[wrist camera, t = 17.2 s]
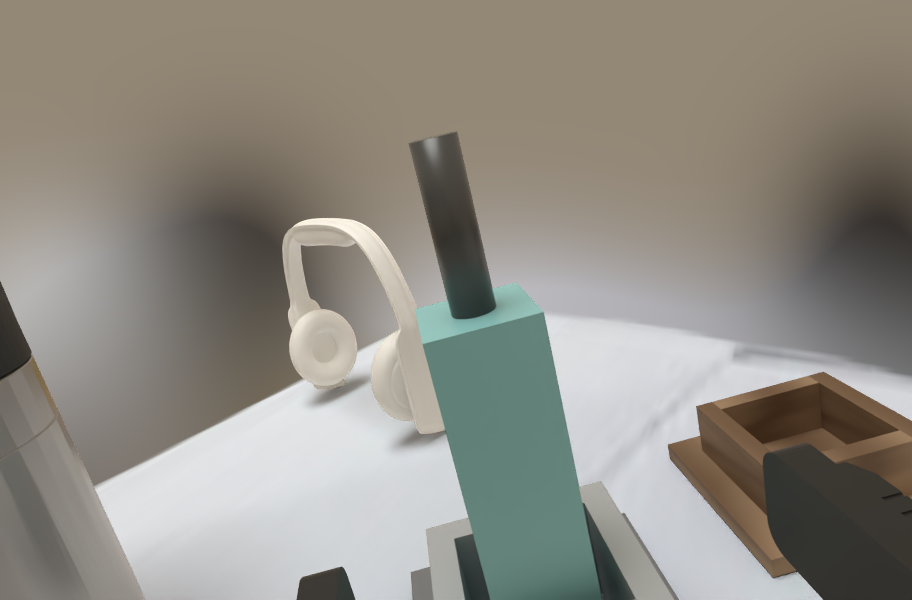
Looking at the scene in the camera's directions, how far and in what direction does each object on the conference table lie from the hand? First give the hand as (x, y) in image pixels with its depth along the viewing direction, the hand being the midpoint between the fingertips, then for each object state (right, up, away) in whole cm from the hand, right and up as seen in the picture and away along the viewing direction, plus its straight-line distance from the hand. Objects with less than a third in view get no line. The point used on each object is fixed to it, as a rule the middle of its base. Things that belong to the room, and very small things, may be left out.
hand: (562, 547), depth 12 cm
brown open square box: (+17, -6, +23) cm, 30 cm away
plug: (+2, -11, +15) cm, 19 cm away
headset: (-9, -6, +45) cm, 46 cm away
